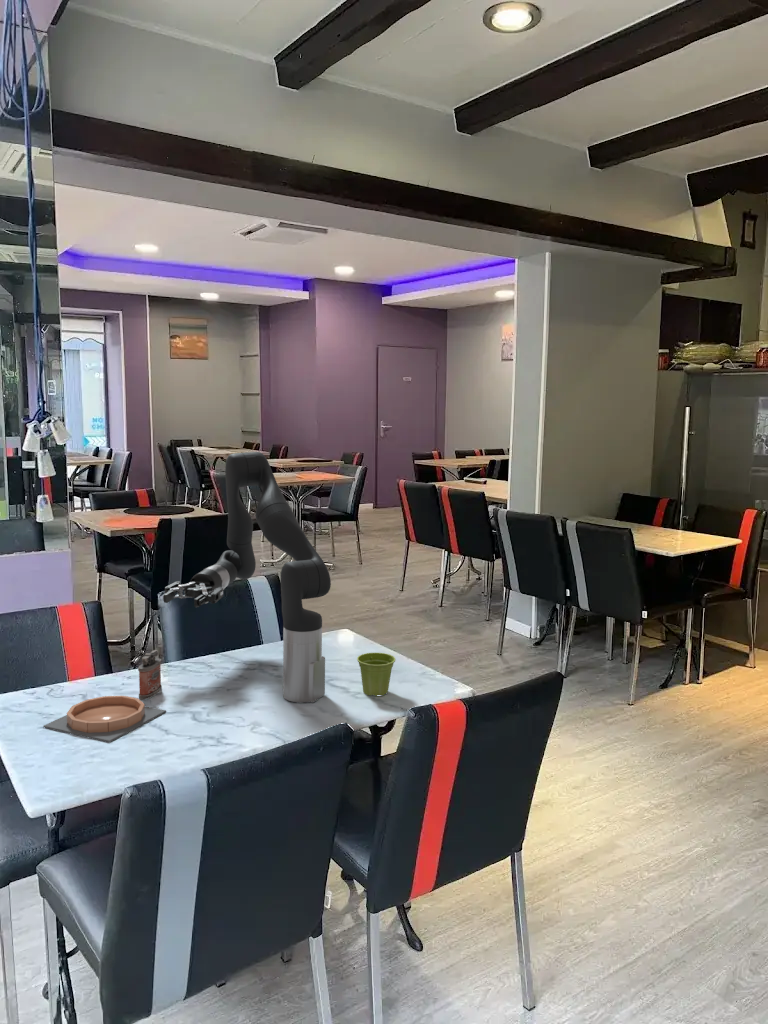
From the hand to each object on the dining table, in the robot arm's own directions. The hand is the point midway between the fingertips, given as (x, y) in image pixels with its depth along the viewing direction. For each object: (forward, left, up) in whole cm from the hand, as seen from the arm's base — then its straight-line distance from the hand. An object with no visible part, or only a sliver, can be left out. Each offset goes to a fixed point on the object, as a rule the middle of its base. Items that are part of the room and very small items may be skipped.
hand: (180, 601), depth 192 cm
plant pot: (-48, -13, -21) cm, 54 cm away
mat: (-1, +28, -20) cm, 35 cm away
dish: (-1, +28, -20) cm, 35 cm away
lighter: (+1, +11, -21) cm, 23 cm away
